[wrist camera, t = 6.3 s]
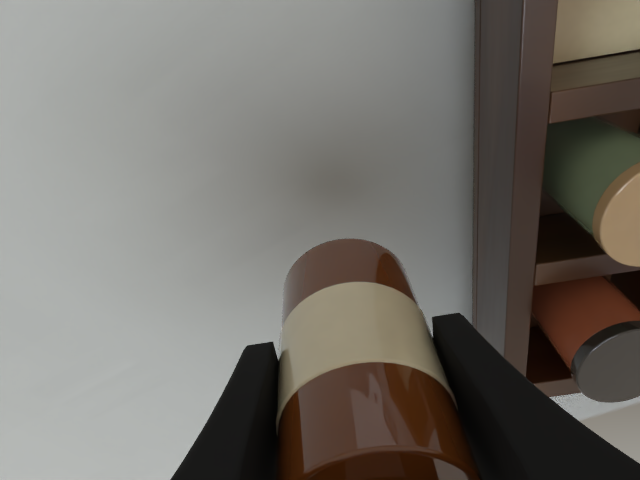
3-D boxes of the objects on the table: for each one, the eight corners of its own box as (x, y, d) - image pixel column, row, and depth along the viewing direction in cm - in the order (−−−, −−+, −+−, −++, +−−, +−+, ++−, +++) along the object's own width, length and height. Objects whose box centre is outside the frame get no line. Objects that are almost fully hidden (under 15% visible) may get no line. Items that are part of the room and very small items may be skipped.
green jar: (622, 101, 18) (742, 148, 13) (607, 188, 20) (708, 257, 15) (526, 117, 18) (610, 169, 13) (520, 201, 20) (592, 275, 15)
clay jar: (599, 242, 21) (689, 322, 16) (588, 306, 23) (667, 395, 18) (517, 254, 21) (582, 337, 16) (513, 317, 23) (571, 409, 18)
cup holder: (713, -178, 14) (847, -227, 11) (613, 321, 24) (667, 380, 20) (475, -134, 15) (532, -168, 11) (472, 342, 24) (501, 404, 21)
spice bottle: (405, 224, 13) (562, 585, 5) (414, 330, 14) (539, 709, 7) (269, 247, 13) (231, 629, 5) (294, 349, 15) (293, 738, 7)
